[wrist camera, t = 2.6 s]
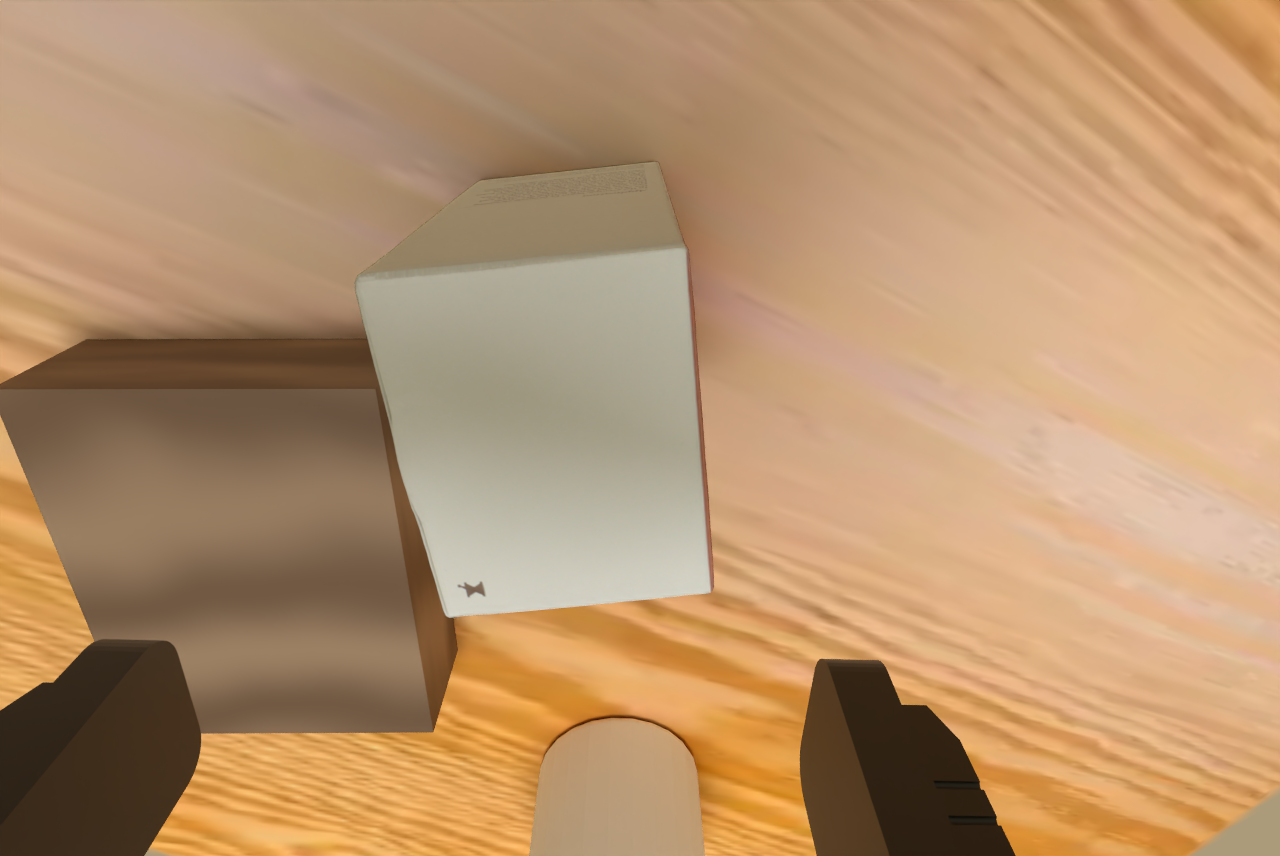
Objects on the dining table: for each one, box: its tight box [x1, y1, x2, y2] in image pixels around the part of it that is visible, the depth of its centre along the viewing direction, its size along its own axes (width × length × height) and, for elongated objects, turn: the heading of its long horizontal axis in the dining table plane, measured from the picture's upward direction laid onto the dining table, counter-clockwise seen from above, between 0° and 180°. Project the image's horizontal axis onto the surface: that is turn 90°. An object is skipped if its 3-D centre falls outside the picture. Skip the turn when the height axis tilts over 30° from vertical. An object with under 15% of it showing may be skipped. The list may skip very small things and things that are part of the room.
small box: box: [355, 162, 714, 618], centre depth 21 cm, size 8×6×13 cm
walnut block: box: [0, 339, 458, 733], centre depth 29 cm, size 15×12×5 cm
